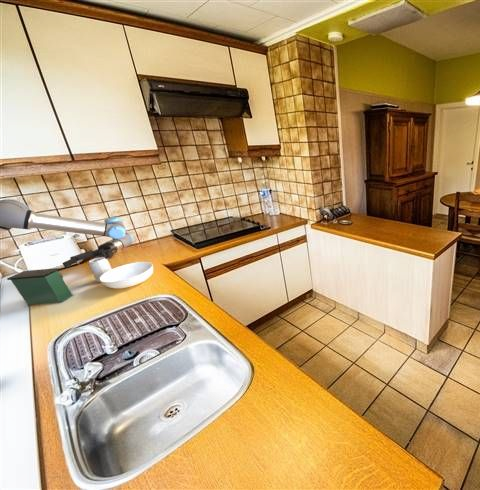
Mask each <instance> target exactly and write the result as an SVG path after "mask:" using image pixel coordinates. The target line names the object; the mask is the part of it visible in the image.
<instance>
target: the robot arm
mask: <svg viewBox="0 0 480 490" xmlns="http://www.w3.org/2000/svg"><path fill="white" fill-rule="evenodd" d="M12 229H20V230H31V229H38V230H46V231H47V230H48V231H54V232H65V233H71V234H73V233H74V234H82V235H90V236H91V235H92V236H98V237H107V238H110V239H109V240H107V241H106V242H104V243H102V244H99V245H98V247H97V248H96V249H94V250H93V249H90V250H88V251H85V252H82V253H79V254H76V255H73V256H70V257H69V259H68V260H66V261H64V262H62V263H61V264H62V265H63V267H64V268H65V269H66V268H69V267H70V266H73V265H75V264H77V263H78V262H80V261H83V260H87V259H90V258H92V259H94V258H99V257H104V258H105V259H107V260H109V259H112V258H113V257H114V255H115V254H116V253H119V251H121V250H123V249H125V248H127V247H130V246H131V245H132V244H134V243H135V237H134V235H133V234H131V233H129V232H127V230H126V228H125V225H124V222H123V220H122V218H121V217H119V216H111V217H107V218H105V219H104V222H99V221H94V220H86V219H79V218H72V217H65V216H58V215H52V214H45V213H38V212H35V211H34V210H31V209H30V208H29V205H27V204H25V203H24V202H22V201H20V200H17V199H9V198H8V199H7V198H5V199H0V232H3V231H4V232H5V231H10V230H12Z"/></svg>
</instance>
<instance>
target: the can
mask: <svg viewBox="0 0 480 490" xmlns="http://www.w3.org/2000/svg"><path fill="white" fill-rule="evenodd" d="M88 267H89V270H90V272H91V274H92V275H93V277H94V279H95V280H96V281H95V282H99V283H101V281H100V277H101V276H102V275H103V274H104V273H106V272H108V271H110V270H112V269H113V267H112V266H111V263H110V261H109V259H108V258H107V259H105V258H104V257H99V258H96V257H94V258H92V259H90V260H89V261H88Z"/></svg>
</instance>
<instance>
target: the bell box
mask: <svg viewBox="0 0 480 490" xmlns="http://www.w3.org/2000/svg"><path fill="white" fill-rule="evenodd" d="M60 270H61V269H60V267H54V268H53V267H52V268H44V269H43V268H41V269H31V270H30V269H29V270H23V271H21V272H18V273H16V274H14V275H12V276H9V277H7V278H6V280H7V281H11V283H12V284H13V286H14V287H15V289H16V290H17V292H18V294H19V295H20V296H21V297H22V299H23V300H24V301H25V303H26V305H27V306H28V307H29V306H38V305H39V306H40V305H49V304H58V303H59V304H60V303H62V302H65V301H66V300H68V299H69V298H71V297H72V296H73V293H72V292H71V289H70V288H69V287H68V285H67V283H66V282H65V280H64V277H63V278H62V277H61V275H60V274H61V272H59V271H60Z"/></svg>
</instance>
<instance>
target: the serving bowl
mask: <svg viewBox="0 0 480 490" xmlns="http://www.w3.org/2000/svg"><path fill="white" fill-rule="evenodd" d="M153 273H154V264H153V263H152V262H149V261H137V262H131V263H126V264H124V265H120V266H117V267H114V268H112V270H110V271H108V272H106V273H104V274H103V275H102V276H101V277H100V281H101V282H100V283H101V284H102V285H103V286H105V287H107V288H110V289H126V288H130V287H134V286H136V285H139V284H141V283H144V282H145V281H146V280H148V279H149V278H150V277H151V276H152V275H153Z"/></svg>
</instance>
